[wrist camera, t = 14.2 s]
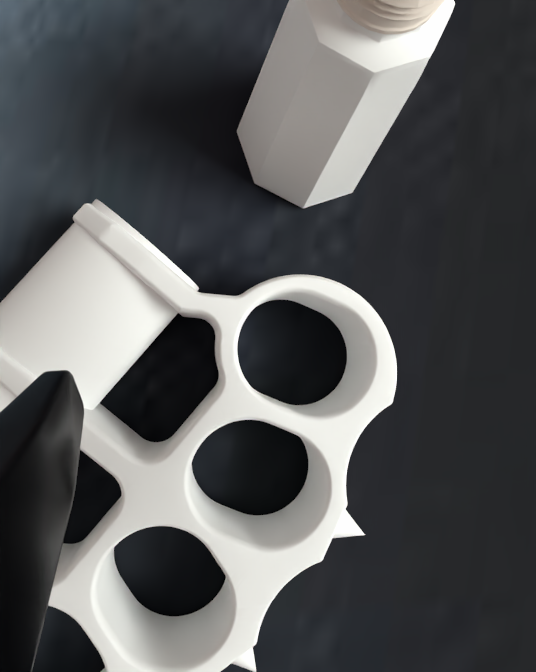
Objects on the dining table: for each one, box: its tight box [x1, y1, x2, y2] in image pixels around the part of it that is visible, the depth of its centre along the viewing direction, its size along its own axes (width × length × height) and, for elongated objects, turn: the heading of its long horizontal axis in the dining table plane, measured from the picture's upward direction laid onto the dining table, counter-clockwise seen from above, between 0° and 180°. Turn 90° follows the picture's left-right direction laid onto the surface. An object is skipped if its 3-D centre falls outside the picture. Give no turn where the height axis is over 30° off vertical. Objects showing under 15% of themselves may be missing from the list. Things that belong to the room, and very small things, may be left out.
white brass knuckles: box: [0, 199, 397, 672], centre depth 17 cm, size 3×18×15 cm
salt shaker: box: [237, 0, 455, 208], centre depth 14 cm, size 5×5×11 cm
